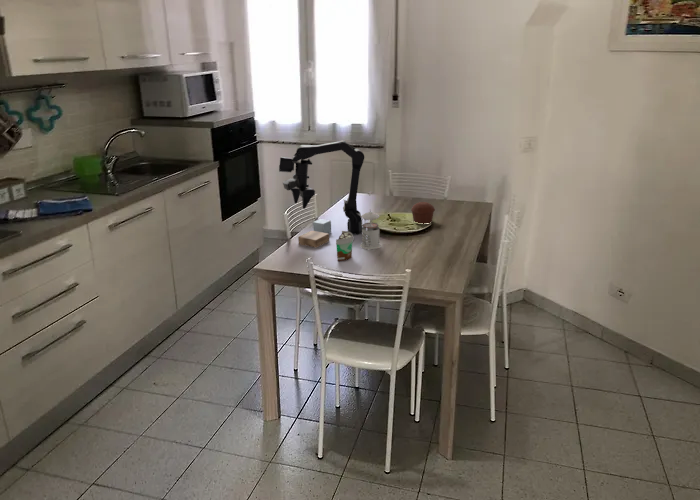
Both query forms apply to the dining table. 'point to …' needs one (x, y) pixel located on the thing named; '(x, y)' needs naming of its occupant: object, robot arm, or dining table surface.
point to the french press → (370, 231)
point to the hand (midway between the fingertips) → (299, 205)
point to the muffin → (422, 212)
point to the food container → (344, 246)
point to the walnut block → (313, 239)
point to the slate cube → (322, 226)
